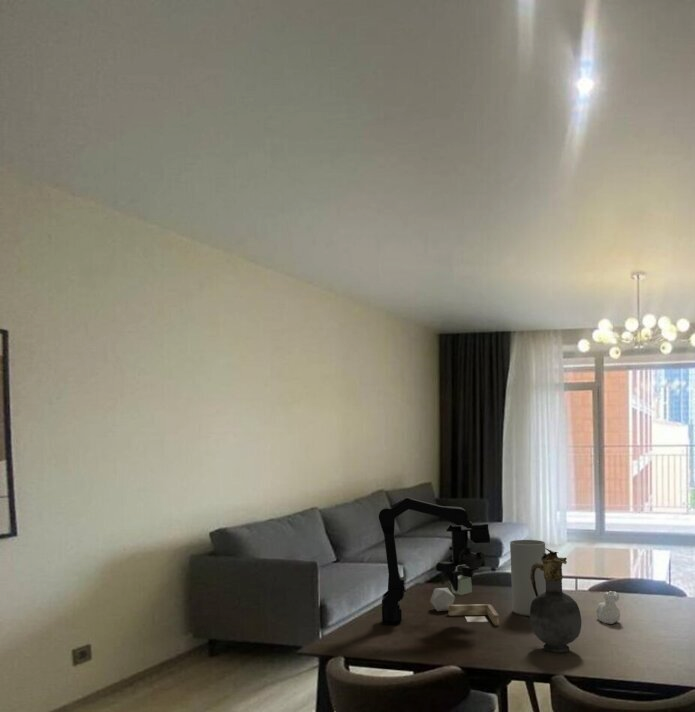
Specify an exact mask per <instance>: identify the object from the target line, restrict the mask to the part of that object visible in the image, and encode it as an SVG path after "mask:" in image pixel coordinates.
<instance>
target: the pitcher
mask: <svg viewBox="0 0 695 712" xmlns="http://www.w3.org/2000/svg"><path fill="white" fill-rule="evenodd" d="M545 551H547V552H548V553H547V552H546V553H542V554H544V556H542V558H541V561H543V564H541V563H535V564H534V565H533V566H532V568H531V571H530V575H531V577H530V579H531V583H532V585H533V589H534V592H535V595H536V598H535V599H534V600H533V601H532V603H531V607H530V616H529V620H530V625H531V629H532V631H533V633H534V635H535V636H536V637H537V639H538V640H539V641H541V642H543V649H544V650H546V651H547V652H550V653H555V654H556V653H557V654H559V653H560V654H561V653H562V654H563V653H566V652H569V651H570V647H569V644H570V643H573V642H574V641H575V640H577V638H578V637H579V636H580V633H581V629H582V616H581V615H582V614H581V611H580V608H579V607H580V606H579V605H578V603H577V601H576V600H575V599H574V598H572V597H571V595H569V594H566V593H565V592H563V578H564V577H563V567H562V566H563V564H564V565H567V563H568V562H567V557H559V556H558V554H559V552H558V551H552V550H550V549H549V548H546V547H545ZM537 568H539V569H541V570H542V571H544V579H545V582H546V592H544V593H542V594H540V595H538V592H537V589H536V581H535V570H536V569H537Z"/></svg>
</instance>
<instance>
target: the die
mask: <svg viewBox="0 0 695 712" xmlns="http://www.w3.org/2000/svg"><path fill="white" fill-rule="evenodd" d="M455 599H456V597H455V595H454V593H452V591H450V589H449V587H436V588H434V589H433V592H432V595H431V598H430V601H429V602H430V603H431V605H432V606H433V607H434V609H435V610H436V611H437V612H444V611H445V612H447V611H449V610H448V605H454V602H455Z"/></svg>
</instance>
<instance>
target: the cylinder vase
mask: <svg viewBox="0 0 695 712" xmlns="http://www.w3.org/2000/svg"><path fill="white" fill-rule="evenodd" d="M545 548H546V542H545V541H543V540H537V539H514V540H511V541H510V542H509V549H510V551H509V552H510V575H511V576H510V577H511V578H510V579H511V580H510V581H511V603H512V604H511V605H512V612H513V613H515V614H516V615H520V616H524V617H525V616H526V617H530V607H531V603H532V601H533V600H534V599H535V598H536V595H535V592H534V589H533V585H532V583H531V579H530V577H531V575H530V571H531V568H532V566H533V565H534V564H535V563H541V564H543V561H541V558H542V556H544V554H542V553H547V552H546V549H545ZM535 581H536V589H537V592H538V595H540V594H542V593H544V592H546V582H545V579H544V571H542V570H541V569H539V568H537V569H536V570H535Z"/></svg>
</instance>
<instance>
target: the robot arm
mask: <svg viewBox="0 0 695 712" xmlns="http://www.w3.org/2000/svg"><path fill="white" fill-rule="evenodd" d="M408 510H409V511H410V510H411V511H413V512H414V511H415V512H417V513H418V512H419V513H421V514H422V513H423V514H427V515H431V516H435V517H438V518H441V519H443V520H445V521H448V522H449V525H448V526H447V527H446V528H445V530H446V532H451V533H450V534H451V546H449V551H451V557H452V558H449V561H440V562H439V561H438V562H437V563H436V564H435V565H436V566H435V569H436V571H437V572H441V573H445V575H446V576H447V578H448V580H449V582H450V585H451V584H452V586H453V588H454V590H455V591H457V590H458V576H460V574H461V571H462V576H467V577H471V580H472V579H473V575H474V573H476V571H478V570H479V569H480V568H481V567H485V566H486V562H485V553H483V552H482V551H479V552H472V551H473V550H472V547H471V546H469V541H470V542H472V544H473V545H487V544H491V543H490V541H491V534H490V530H489V523H482V524H479V523H478V524H473V522H472V521H470V520H469V518H468V513H467V512H466V510H465V509H464V508H463V507H460V506H451V505H447V506H445V505H444V506H443V505H439V504H435V503H430V502H426V501H424V500H423V501H422V500H419V499H414V498H411V497H410V496H406V497H403V499H401V500H400V501H398V502H396V503H394V504H393V505H391V506H384V507H382V508H381V509H380V510H379V513H378V520H379V523H380V524H379V525H380V528H381V530H382V533H383V536H384V545H385V554H386V561H387V562H386V563H387V571H388V579H387V580H388V581H387V591H386V592H385V593H383V594H382V597H381V619H380V620H381V621H380V622H381V625H401V622H403V621H402V620H403V618H402V614H403V613H402V607H401V606H400V605H401V604H400V603H399V602H400V601H402V599H403V598H404V597H405V593H406V592H407V591H406V590H407V588H406V587H407V586H406V585H405V576H401V575H400V570H399V563H398V552H397V544H396V537H395V526H396V525H395V524H396V518H398V517H399V516H400V515H402V514H404V513H405V512H406V511H408ZM452 524H454V525H452ZM462 526H463V527H465V528H462ZM458 568H461V571H459V570H458Z"/></svg>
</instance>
